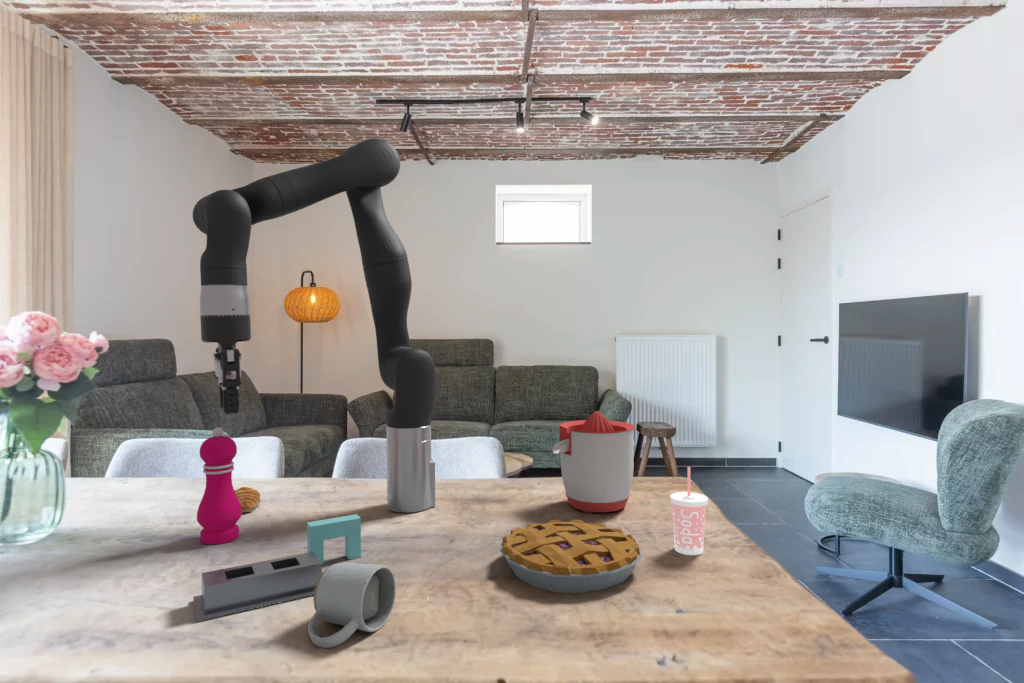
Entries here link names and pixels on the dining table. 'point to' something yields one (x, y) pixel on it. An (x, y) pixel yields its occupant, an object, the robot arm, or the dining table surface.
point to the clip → (335, 535)
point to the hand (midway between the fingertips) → (229, 410)
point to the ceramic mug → (352, 600)
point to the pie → (570, 555)
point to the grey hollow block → (257, 585)
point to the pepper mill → (218, 491)
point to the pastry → (248, 498)
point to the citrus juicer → (596, 462)
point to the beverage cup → (689, 520)
